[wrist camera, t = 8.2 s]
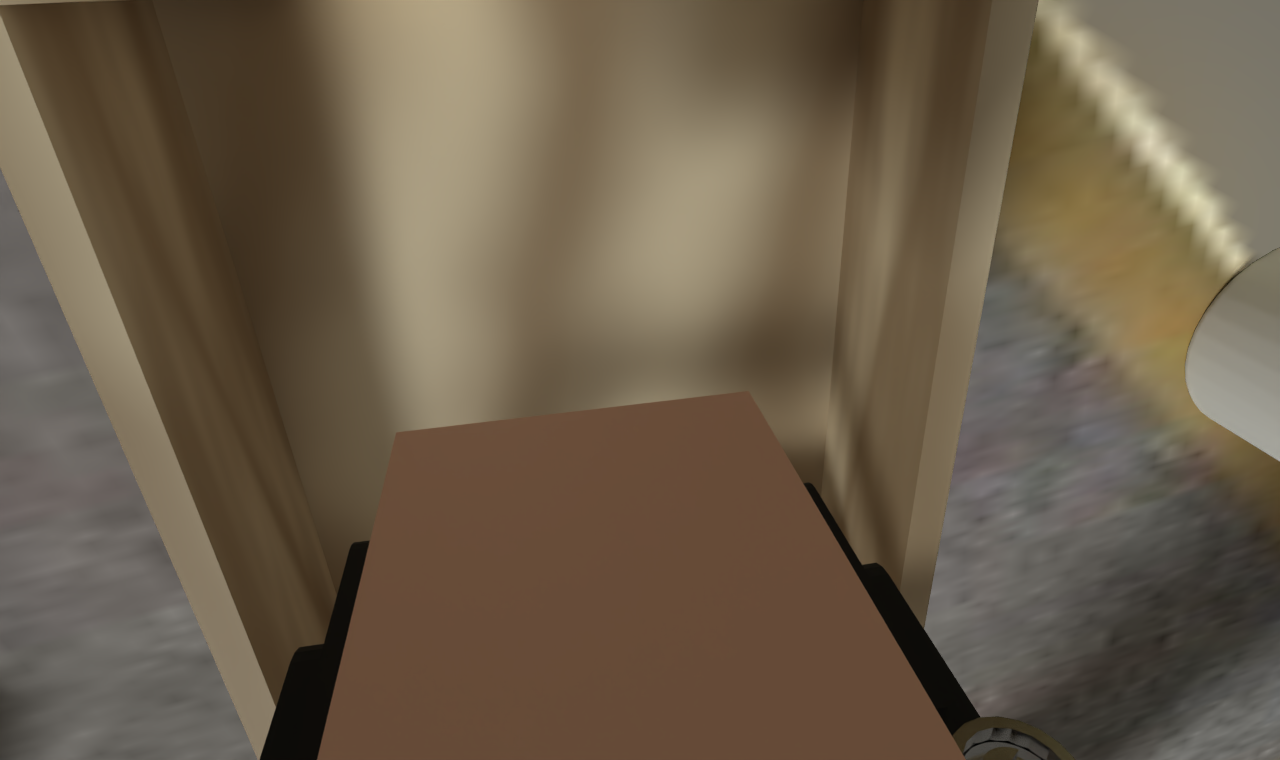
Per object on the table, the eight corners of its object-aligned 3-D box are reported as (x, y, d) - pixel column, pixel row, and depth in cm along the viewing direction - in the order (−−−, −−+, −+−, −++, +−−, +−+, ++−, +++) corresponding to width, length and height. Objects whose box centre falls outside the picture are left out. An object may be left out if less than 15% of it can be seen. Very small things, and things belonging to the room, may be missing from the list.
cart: (833, -69, 19) (1495, -182, 6) (793, 527, 29) (1033, 984, 15) (176, -40, 18) (-781, -114, 5) (358, 586, 27) (213, 1160, 14)
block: (741, 637, 13) (941, 1194, 7) (454, 682, 13) (407, 1329, 7) (748, 391, 11) (1055, 912, 5) (395, 432, 10) (237, 1083, 4)
